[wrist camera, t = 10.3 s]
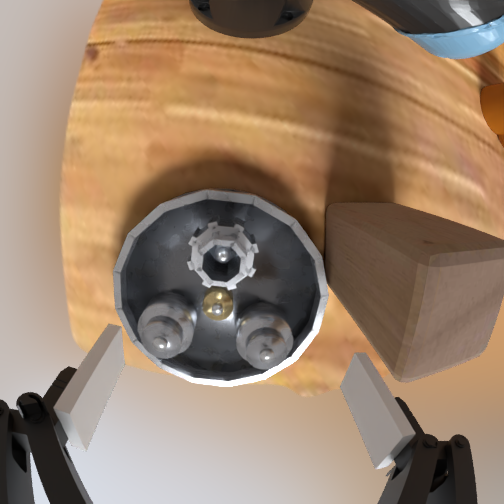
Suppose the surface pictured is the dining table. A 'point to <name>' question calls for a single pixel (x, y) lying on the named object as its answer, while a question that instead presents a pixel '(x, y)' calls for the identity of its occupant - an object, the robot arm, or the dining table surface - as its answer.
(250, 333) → the carrier
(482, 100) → the mug
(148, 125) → the dining table surface
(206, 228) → the gear
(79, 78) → the dining table surface
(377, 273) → the wooden block
